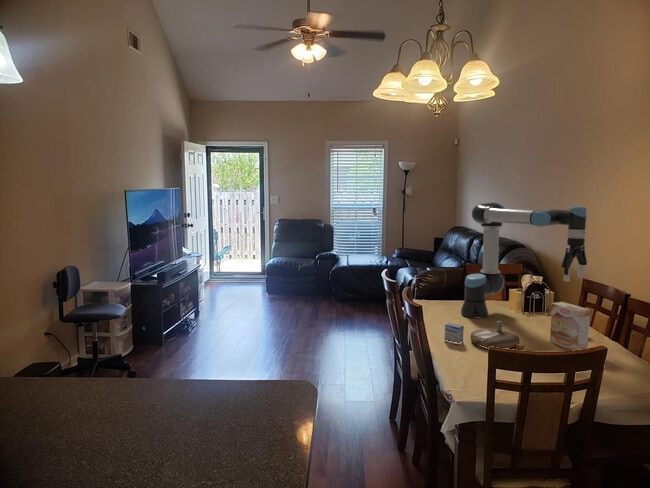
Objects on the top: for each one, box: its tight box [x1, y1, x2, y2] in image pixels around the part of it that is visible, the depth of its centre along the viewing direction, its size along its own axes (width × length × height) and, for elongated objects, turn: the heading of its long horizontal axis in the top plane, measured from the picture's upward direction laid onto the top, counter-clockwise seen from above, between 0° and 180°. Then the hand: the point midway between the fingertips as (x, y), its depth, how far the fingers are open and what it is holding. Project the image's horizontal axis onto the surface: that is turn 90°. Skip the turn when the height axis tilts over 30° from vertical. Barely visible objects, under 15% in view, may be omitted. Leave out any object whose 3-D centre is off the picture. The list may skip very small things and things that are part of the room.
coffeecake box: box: [549, 301, 591, 351], centre depth 211 cm, size 15×7×20 cm, turn 23°
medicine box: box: [443, 322, 465, 343], centre depth 219 cm, size 8×4×9 cm, turn 47°
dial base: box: [487, 343, 525, 351], centre depth 215 cm, size 24×19×3 cm
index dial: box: [470, 320, 521, 349], centre depth 216 cm, size 22×22×7 cm
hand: (573, 279), depth 227 cm, fingers open, 13 cm apart
